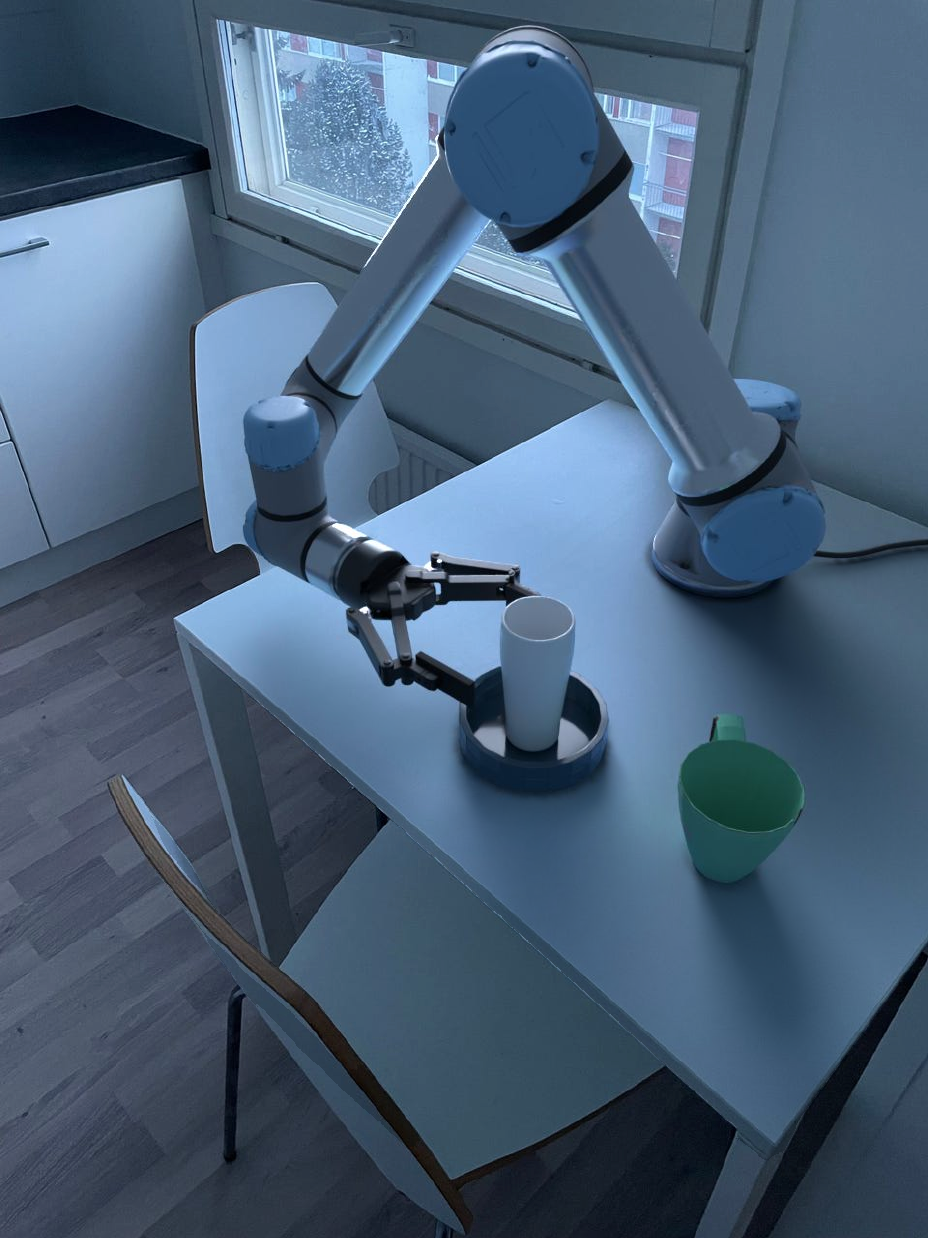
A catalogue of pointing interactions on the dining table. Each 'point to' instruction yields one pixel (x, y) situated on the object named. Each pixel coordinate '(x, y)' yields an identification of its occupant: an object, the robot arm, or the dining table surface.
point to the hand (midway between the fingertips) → (518, 655)
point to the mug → (736, 801)
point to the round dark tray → (539, 769)
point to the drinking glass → (535, 669)
